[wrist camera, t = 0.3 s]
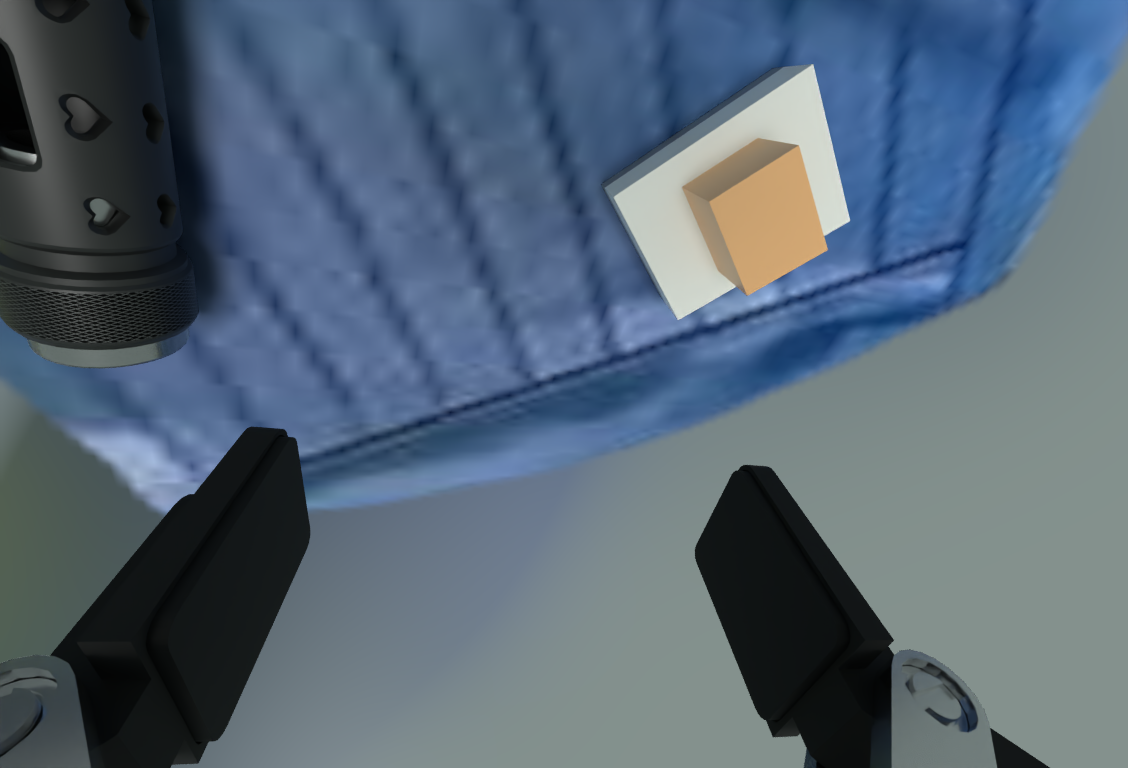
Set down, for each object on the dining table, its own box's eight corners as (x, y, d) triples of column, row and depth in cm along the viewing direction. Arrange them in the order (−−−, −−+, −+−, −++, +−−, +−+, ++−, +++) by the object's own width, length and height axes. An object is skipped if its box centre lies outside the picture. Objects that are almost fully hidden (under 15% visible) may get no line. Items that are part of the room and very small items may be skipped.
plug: (736, 134, 32) (798, 145, 25) (765, 219, 36) (827, 249, 29) (667, 179, 33) (709, 201, 26) (702, 257, 37) (747, 295, 30)
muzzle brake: (190, -154, 24) (7, -296, 15) (232, 319, 38) (150, 387, 29) (-39, -247, 22) (-408, -476, 13) (96, 293, 35) (-38, 357, 27)
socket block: (773, 68, 32) (813, 64, 27) (811, 206, 37) (850, 220, 33) (600, 184, 35) (613, 196, 30) (660, 296, 40) (677, 320, 36)
